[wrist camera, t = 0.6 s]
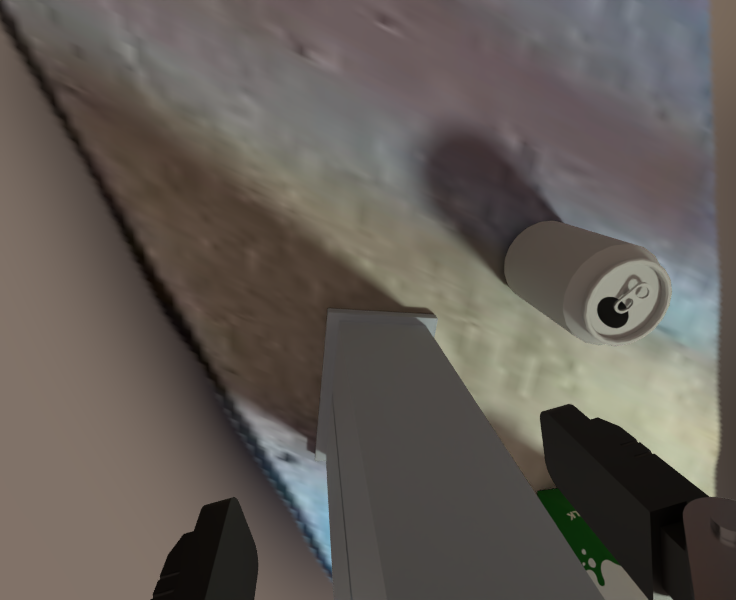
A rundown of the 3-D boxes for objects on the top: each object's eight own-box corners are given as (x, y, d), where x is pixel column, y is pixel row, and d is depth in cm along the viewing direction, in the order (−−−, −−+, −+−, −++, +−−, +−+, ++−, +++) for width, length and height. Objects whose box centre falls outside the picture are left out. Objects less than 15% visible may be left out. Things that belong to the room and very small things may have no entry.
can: (483, 265, 38) (555, 314, 27) (542, 201, 37) (643, 225, 26) (534, 312, 41) (619, 375, 30) (592, 253, 40) (704, 296, 28)
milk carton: (523, 542, 52) (644, 765, 33) (530, 484, 49) (669, 695, 30) (590, 532, 53) (744, 743, 34) (601, 474, 50) (778, 673, 31)
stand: (327, 308, 38) (398, 909, 8) (434, 314, 39) (823, 833, 10) (314, 454, 43) (329, 1145, 13) (409, 454, 45) (612, 1070, 15)
